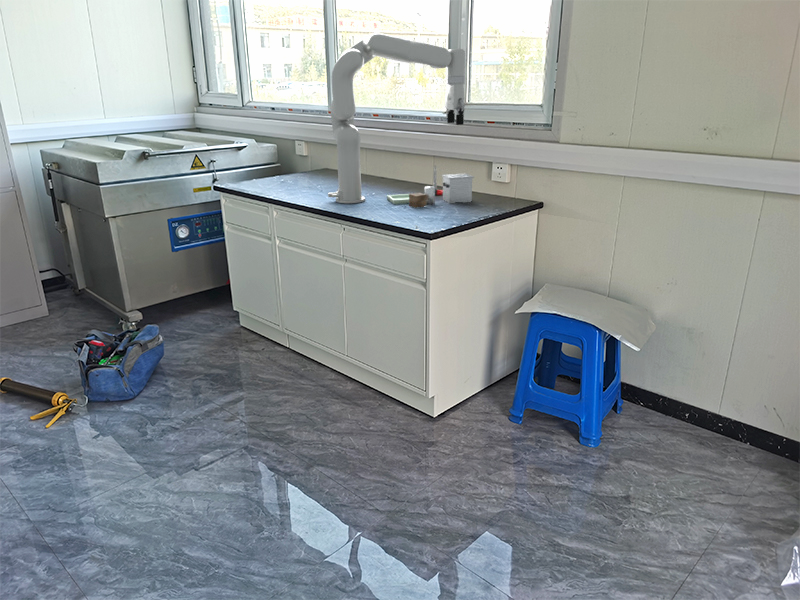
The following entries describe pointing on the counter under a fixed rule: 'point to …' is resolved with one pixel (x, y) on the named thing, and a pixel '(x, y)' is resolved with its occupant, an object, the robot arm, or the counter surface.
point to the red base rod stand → (437, 192)
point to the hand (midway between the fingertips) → (455, 123)
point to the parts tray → (398, 198)
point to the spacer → (430, 195)
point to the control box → (457, 187)
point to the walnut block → (417, 200)
